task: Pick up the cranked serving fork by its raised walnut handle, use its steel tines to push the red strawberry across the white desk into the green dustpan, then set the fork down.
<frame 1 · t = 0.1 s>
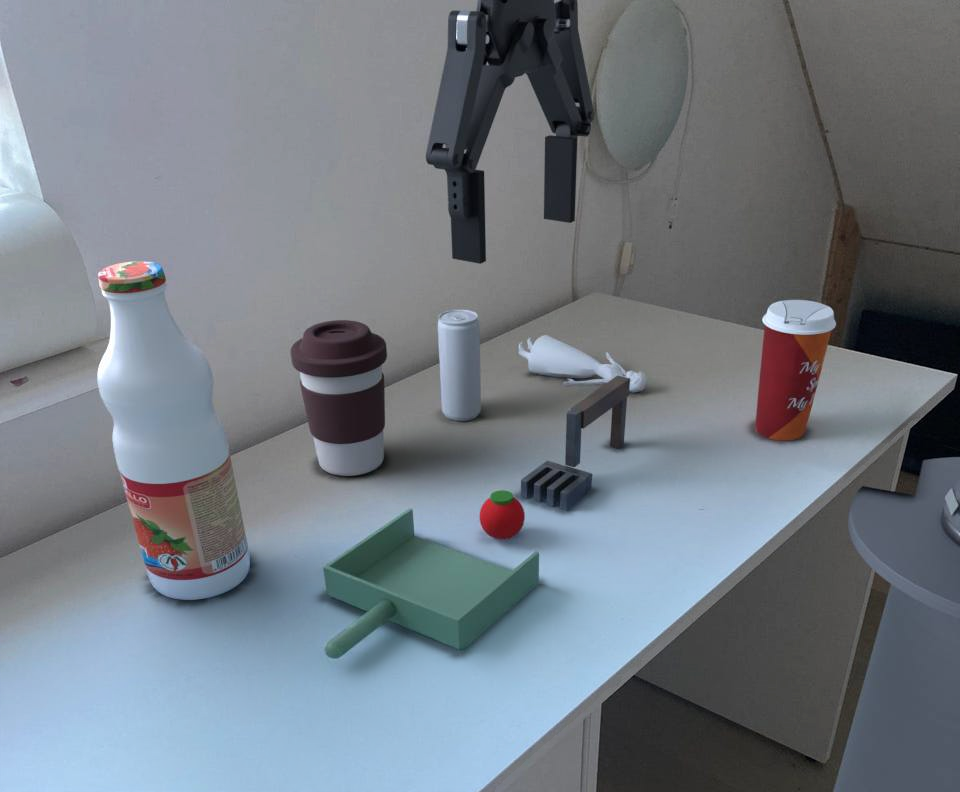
hand: (516, 239, 81), 27 cm above the table, tool pointing down, fingers open, 13 cm apart
woman figurine: (582, 380, 127), on the table
fork: (588, 468, 107), on the table
beverage can: (462, 415, 119), on the table
paper cup: (779, 431, 114), on the table
green dustpan: (435, 589, 89), on the table
coffee cup: (351, 464, 110), on the table
fruit juice: (202, 576, 92), on the table
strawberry: (502, 516, 95), point 2 cm above the table
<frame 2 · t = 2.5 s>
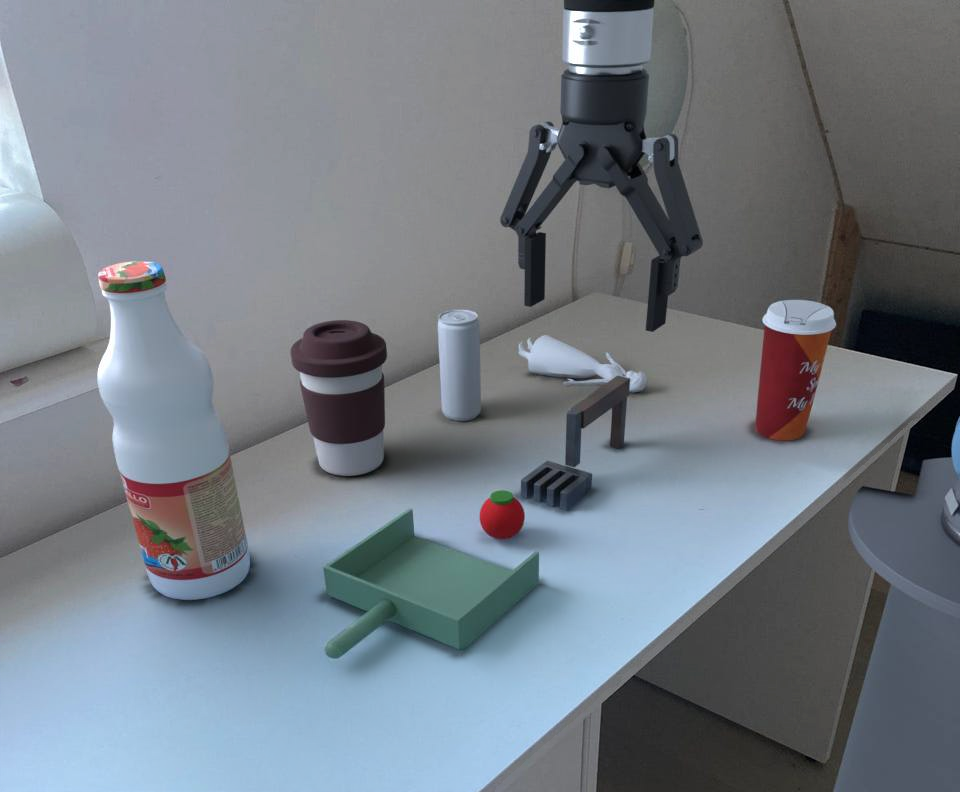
hand: (593, 314, 97), 17 cm above the table, tool pointing down, fingers open, 13 cm apart
nothing on the table moved.
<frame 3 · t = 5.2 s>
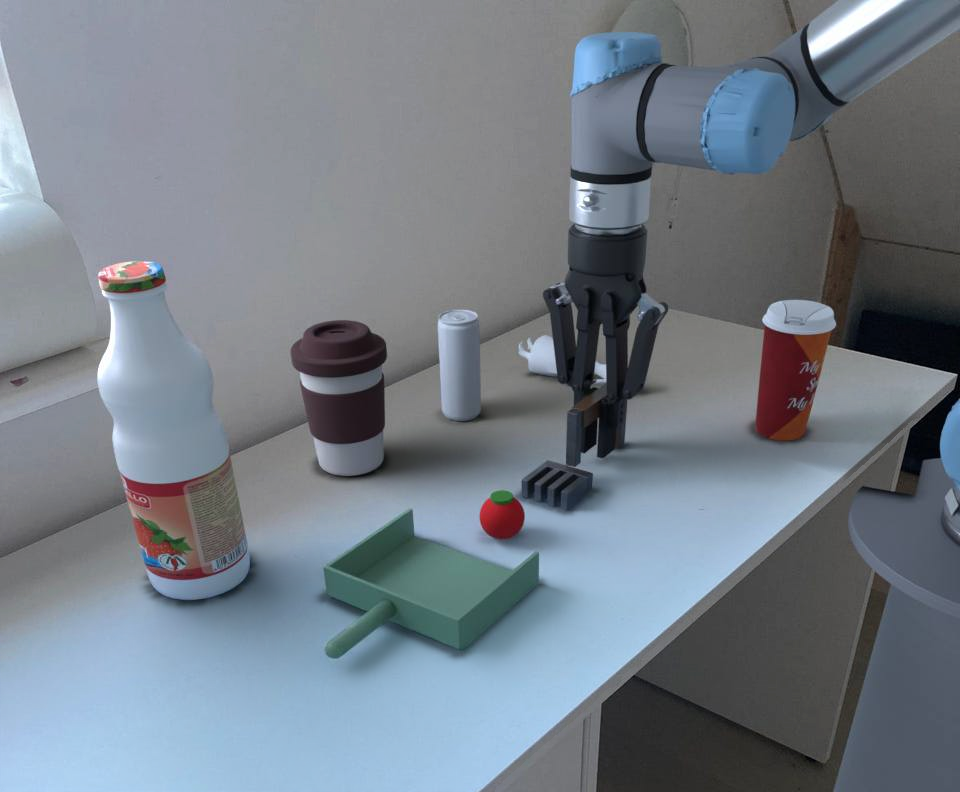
hand: (596, 450, 107), 2 cm above the table, tool pointing down, fingers closed on fork, 2 cm apart
fork: (589, 467, 107), on the table, touching gripper
everything else where it was.
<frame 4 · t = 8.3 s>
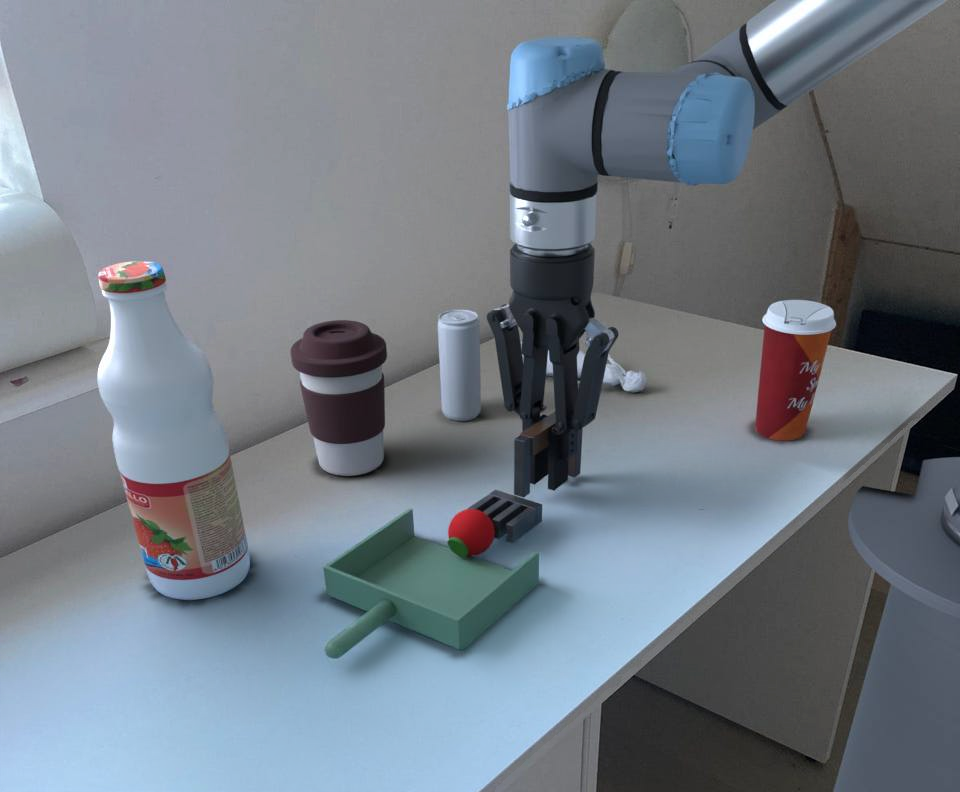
hand: (548, 480, 101), 2 cm above the table, tool pointing down, fingers closed on fork, 2 cm apart
fork: (540, 497, 100), point 1 cm above the table, touching gripper, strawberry
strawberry: (471, 532, 92), point 2 cm above the table, tilted 107°, touching fork, green dustpan
everything else where it was.
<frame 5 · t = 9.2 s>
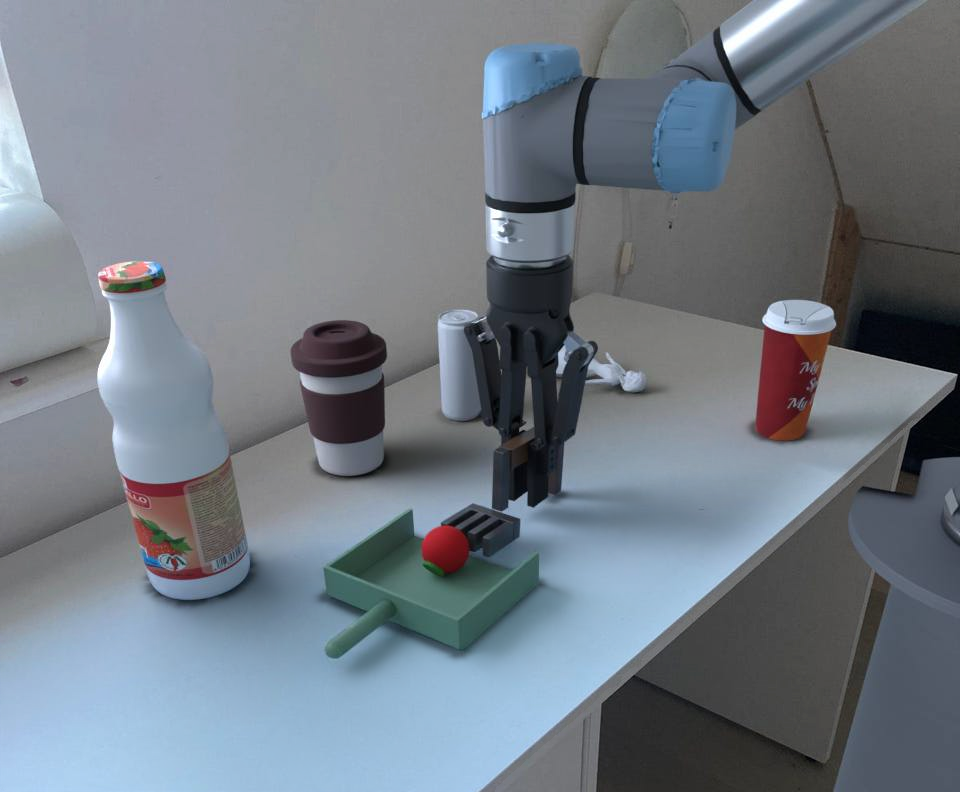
hand: (528, 497, 98), 2 cm above the table, tool pointing down, fingers closed on fork, 2 cm apart
fork: (519, 513, 98), point 1 cm above the table, touching gripper, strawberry
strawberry: (445, 549, 90), point 3 cm above the table, tilted 125°, touching fork, green dustpan
everything else where it was.
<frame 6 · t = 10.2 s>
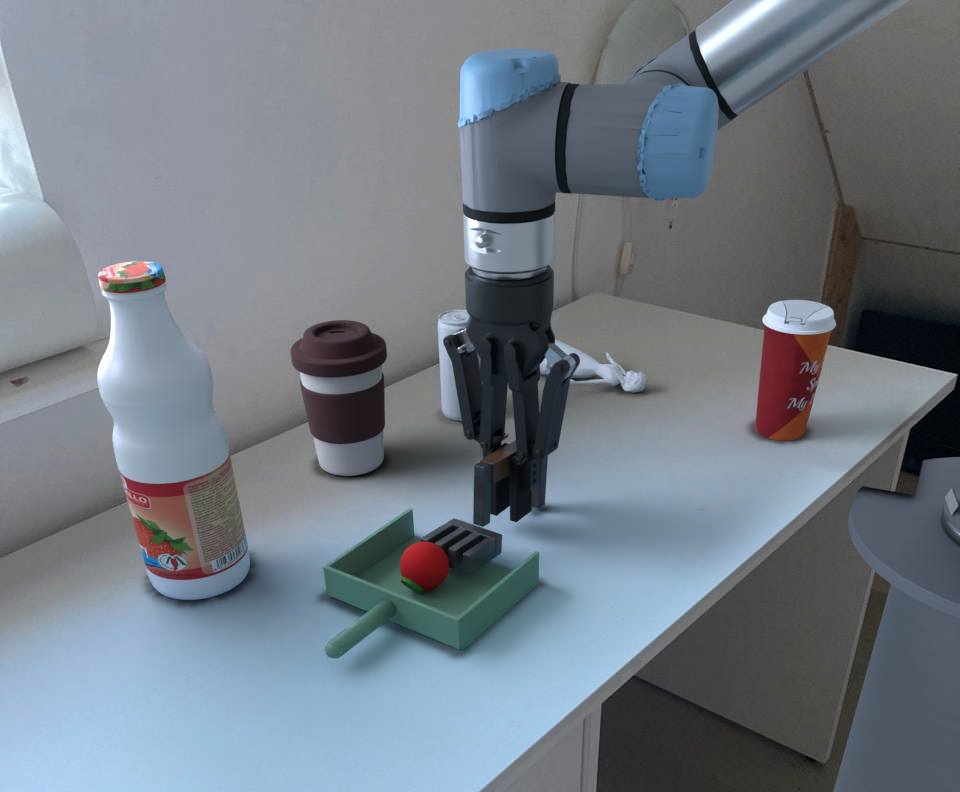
hand: (510, 511, 96), 2 cm above the table, tool pointing down, fingers closed on fork, 2 cm apart
fork: (502, 528, 96), point 1 cm above the table, touching gripper, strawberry
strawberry: (424, 566, 88), point 2 cm above the table, tilted 124°, touching fork, green dustpan
everything else where it was.
when the fingers open (2 cm above the table, at t = 12.5 s): fork stays where it is, on the table.
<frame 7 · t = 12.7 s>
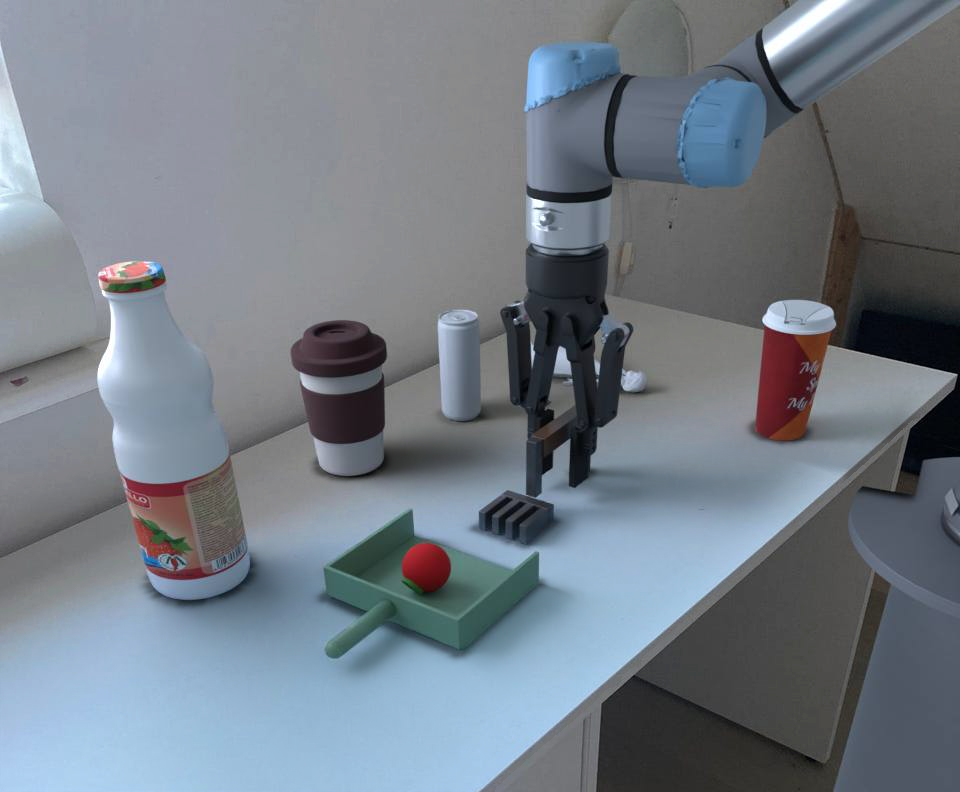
hand: (560, 476, 102), 2 cm above the table, tool pointing down, fingers open, 4 cm apart
fork: (552, 497, 102), on the table
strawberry: (426, 567, 87), point 2 cm above the table, tilted 124°, touching green dustpan
everything else where it was.
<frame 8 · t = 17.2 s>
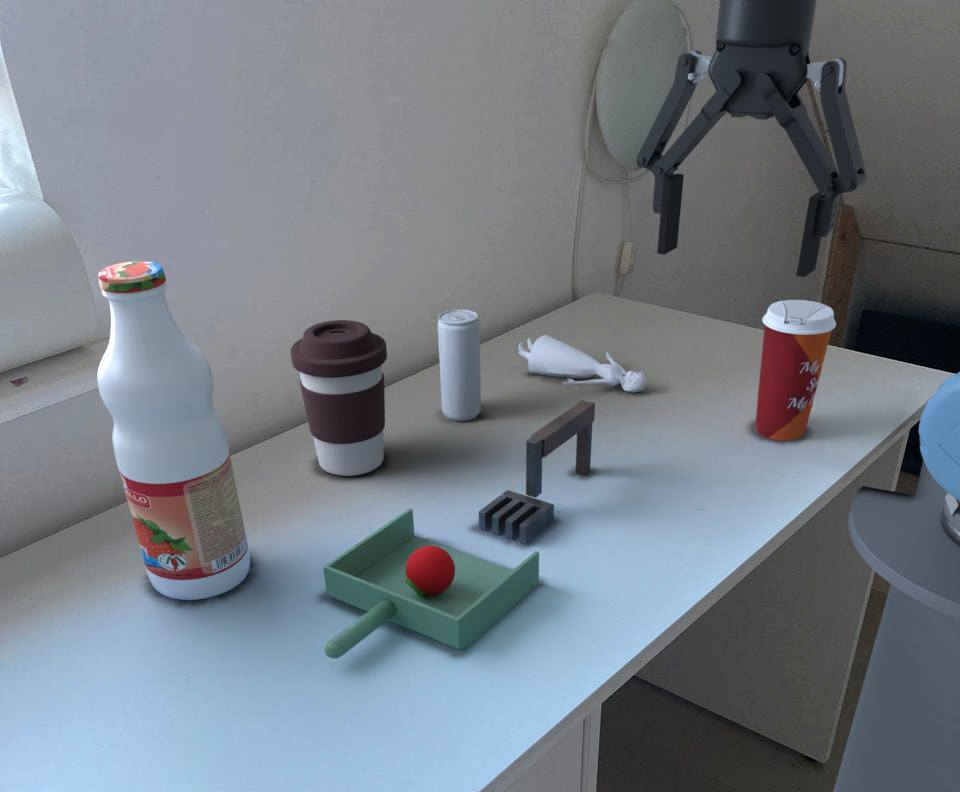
hand: (734, 261, 90), 23 cm above the table, tool pointing down, fingers open, 13 cm apart
at the end: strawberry inside the target area in the green dustpan (1.0 cm from its centre), point 2.5 cm above the green dustpan's base; the gripper is holding nothing; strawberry moved 11.7 cm from its start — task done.
